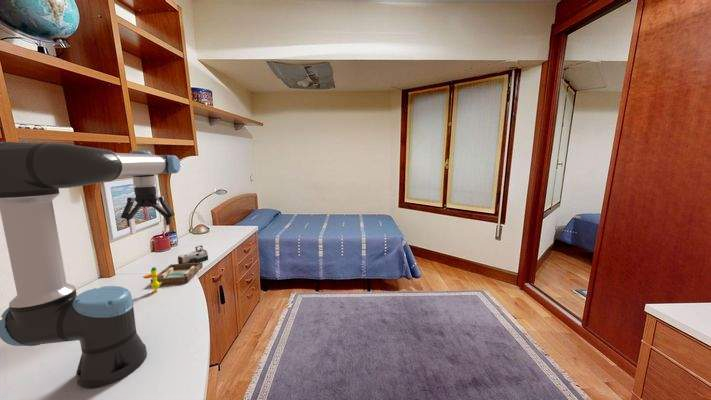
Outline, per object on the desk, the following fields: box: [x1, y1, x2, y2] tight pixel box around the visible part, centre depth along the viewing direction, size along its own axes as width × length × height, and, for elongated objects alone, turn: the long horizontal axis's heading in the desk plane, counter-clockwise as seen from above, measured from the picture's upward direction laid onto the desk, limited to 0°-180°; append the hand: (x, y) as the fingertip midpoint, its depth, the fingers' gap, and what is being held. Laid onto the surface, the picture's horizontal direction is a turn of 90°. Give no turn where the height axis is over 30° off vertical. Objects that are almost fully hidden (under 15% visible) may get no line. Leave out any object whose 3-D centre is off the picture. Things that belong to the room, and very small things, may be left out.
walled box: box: [150, 262, 204, 287], centre depth 135 cm, size 19×16×4 cm
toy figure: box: [142, 266, 162, 294], centre depth 119 cm, size 7×4×12 cm, turn 116°
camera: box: [177, 244, 209, 264], centre depth 152 cm, size 15×8×10 cm, turn 146°
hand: (150, 232), depth 118 cm, fingers open, 13 cm apart
